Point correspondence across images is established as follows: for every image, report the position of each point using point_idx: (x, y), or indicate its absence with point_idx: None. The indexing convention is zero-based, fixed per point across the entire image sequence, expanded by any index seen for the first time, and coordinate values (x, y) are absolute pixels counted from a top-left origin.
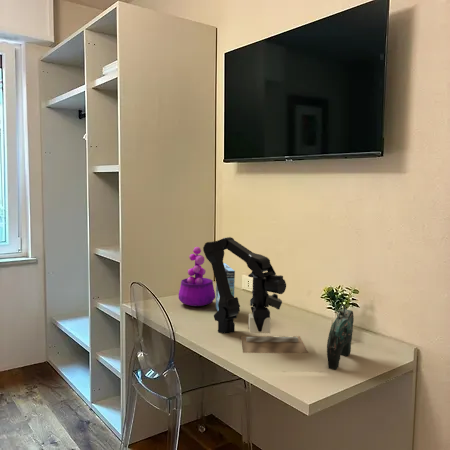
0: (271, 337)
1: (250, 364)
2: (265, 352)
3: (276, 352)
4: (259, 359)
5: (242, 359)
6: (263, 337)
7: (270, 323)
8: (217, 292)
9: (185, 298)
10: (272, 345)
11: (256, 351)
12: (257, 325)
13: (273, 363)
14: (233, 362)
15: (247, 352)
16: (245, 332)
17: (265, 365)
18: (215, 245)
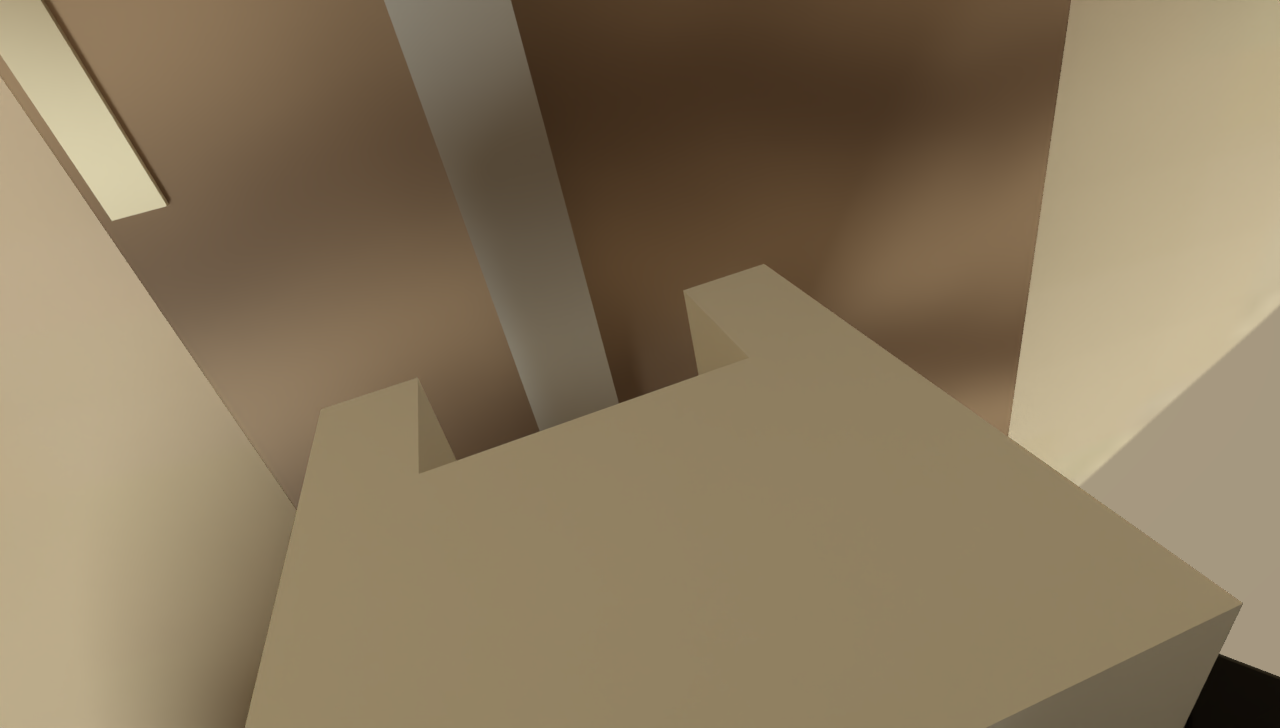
0: (512, 215)
1: (1188, 299)
2: (1034, 198)
3: (1060, 6)
4: (1092, 237)
5: (1060, 408)
6: (561, 377)
7: (975, 417)
8: None
9: None
10: (741, 131)
11: (987, 327)
12: None
13: (1242, 26)
14: (1109, 454)
15: (1007, 416)
16: (46, 723)
17: (1260, 129)
18: None
